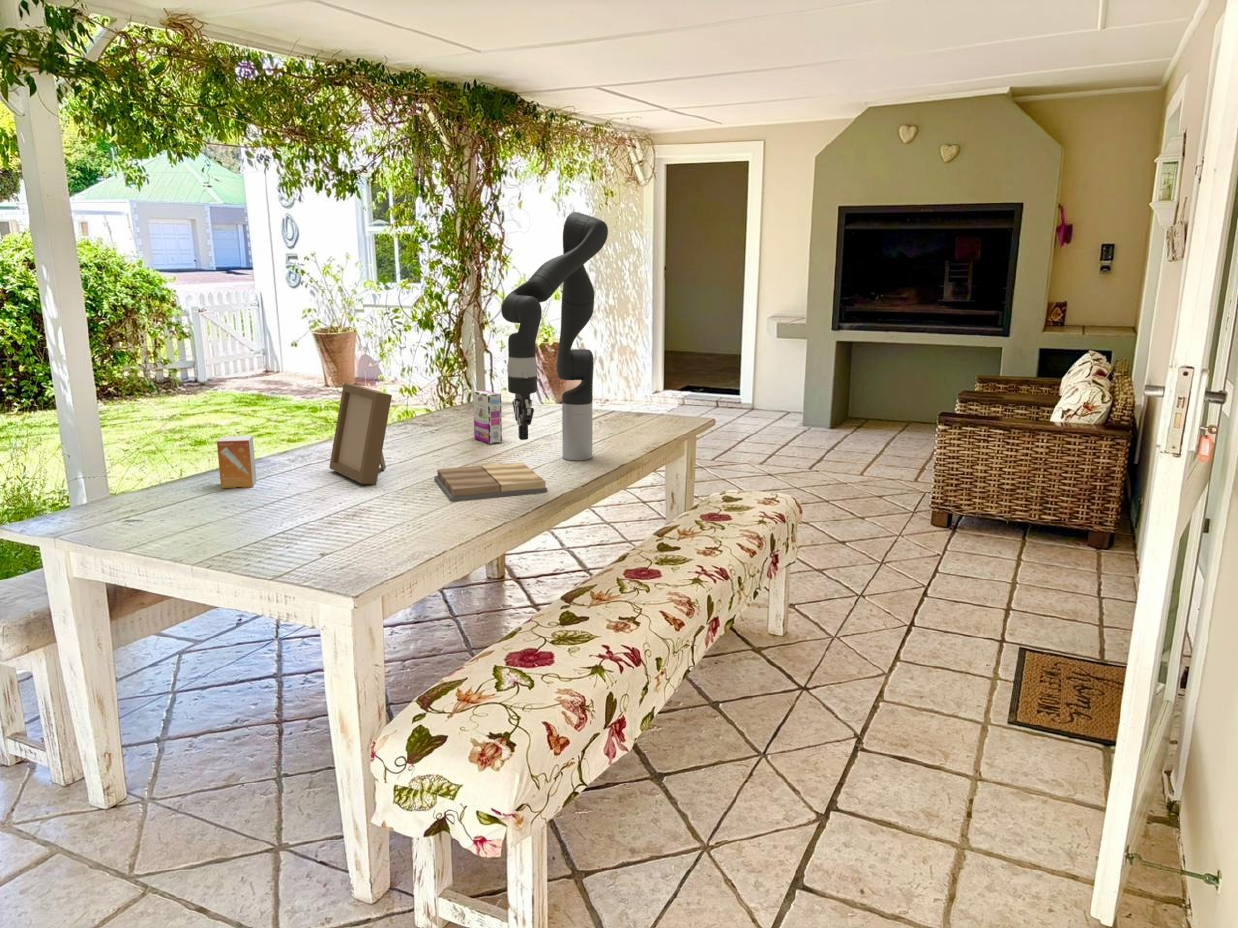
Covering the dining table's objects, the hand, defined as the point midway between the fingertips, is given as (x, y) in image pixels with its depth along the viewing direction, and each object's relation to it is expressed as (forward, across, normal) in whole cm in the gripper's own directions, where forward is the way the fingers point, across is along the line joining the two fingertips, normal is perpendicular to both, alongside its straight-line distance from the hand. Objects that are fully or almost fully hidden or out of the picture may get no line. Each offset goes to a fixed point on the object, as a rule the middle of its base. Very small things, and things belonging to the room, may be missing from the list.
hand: (523, 439), depth 229 cm
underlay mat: (+14, -6, -8) cm, 17 cm away
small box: (+14, -30, -71) cm, 78 cm away
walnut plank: (+14, -6, -14) cm, 20 cm away
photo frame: (+14, -29, -37) cm, 49 cm away
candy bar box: (+15, -62, +5) cm, 64 cm away
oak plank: (+13, -6, -2) cm, 14 cm away
